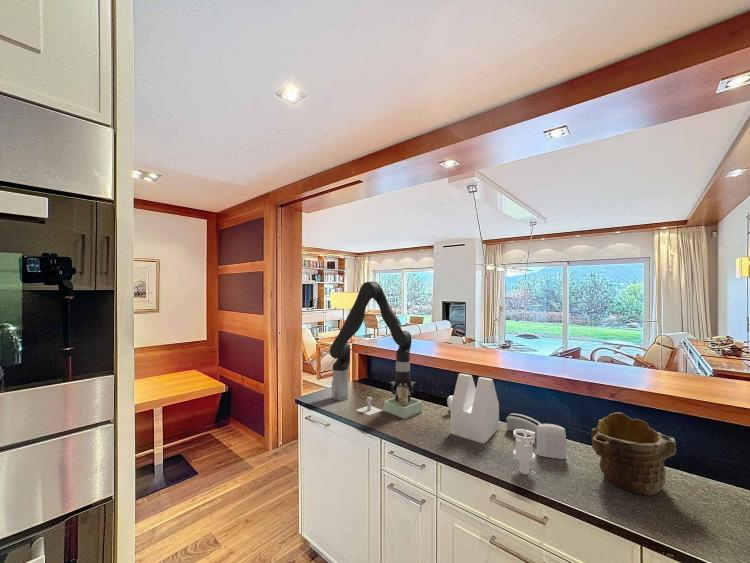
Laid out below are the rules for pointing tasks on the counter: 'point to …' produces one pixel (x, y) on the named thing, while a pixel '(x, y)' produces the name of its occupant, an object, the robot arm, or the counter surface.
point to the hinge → (522, 423)
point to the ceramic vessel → (632, 453)
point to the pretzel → (449, 401)
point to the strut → (403, 396)
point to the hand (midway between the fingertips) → (402, 401)
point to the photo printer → (551, 441)
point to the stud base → (364, 410)
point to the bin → (403, 408)
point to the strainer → (524, 449)
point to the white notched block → (474, 409)
